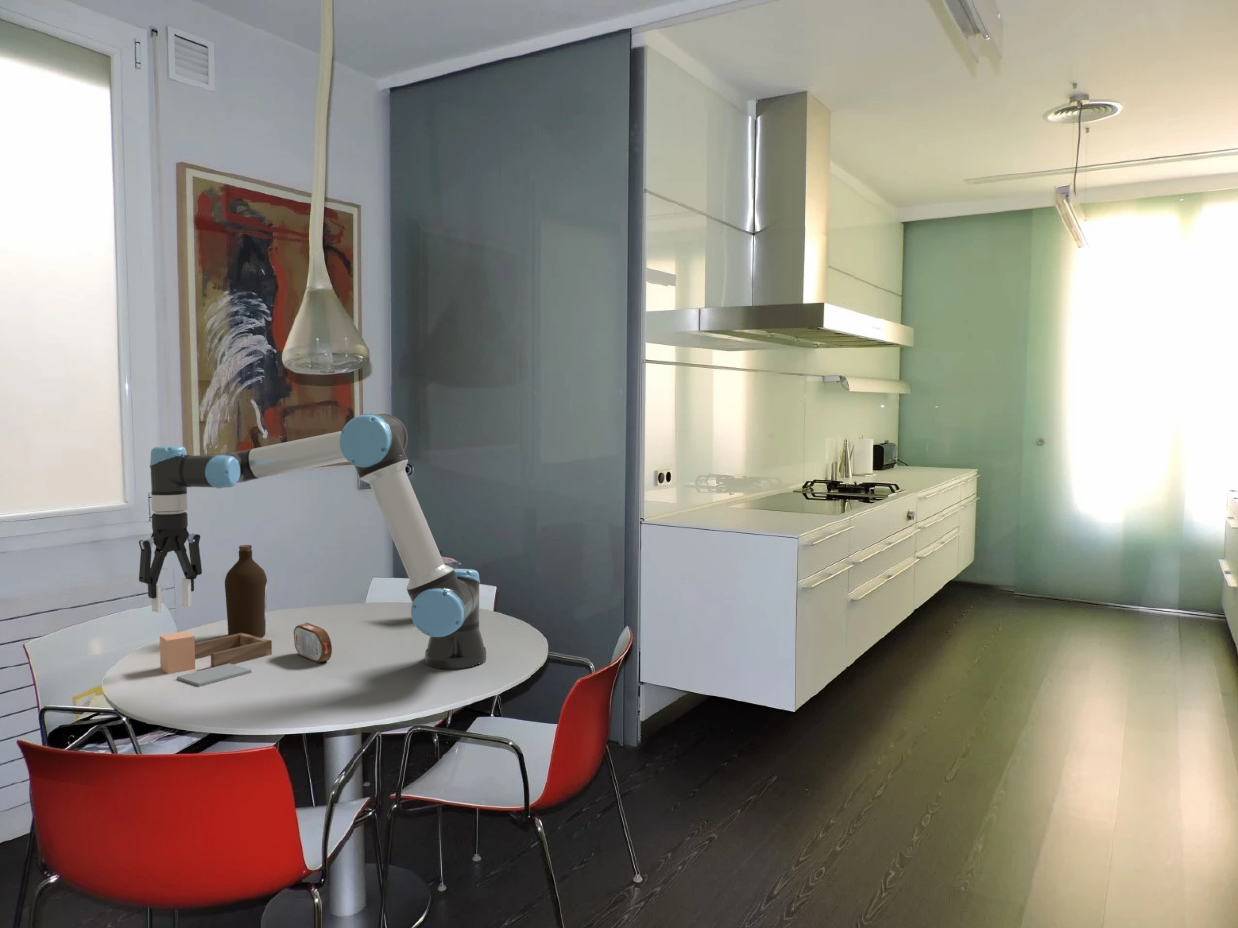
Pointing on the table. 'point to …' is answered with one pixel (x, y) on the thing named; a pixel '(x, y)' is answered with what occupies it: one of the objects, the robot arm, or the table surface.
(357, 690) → the table surface
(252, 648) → the bay
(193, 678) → the mat
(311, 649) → the tin
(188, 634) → the block
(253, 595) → the olive oil
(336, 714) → the table surface
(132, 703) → the table surface
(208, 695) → the table surface
